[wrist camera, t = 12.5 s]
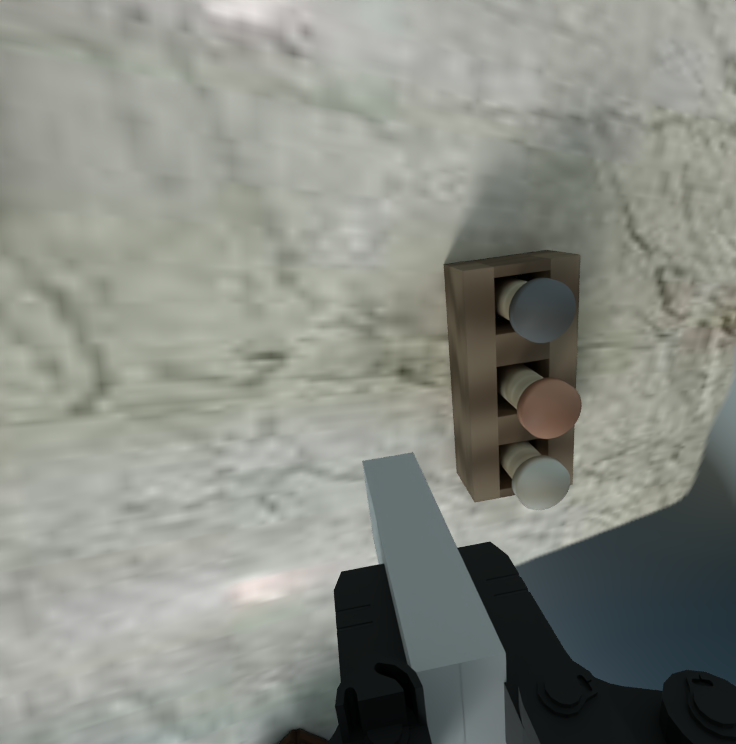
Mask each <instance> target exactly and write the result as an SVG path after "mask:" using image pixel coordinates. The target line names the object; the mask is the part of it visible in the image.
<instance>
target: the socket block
mask: <svg viewBox="0 0 736 744" xmlns="http://www.w3.org/2000/svg"><path fill="white" fill-rule="evenodd" d="M518 274H521V280H524V281H527V282H528V281H530V280H533V279H536V278H549V279H553V280H557V281H560V282H562V283H564V284H565V285H567V286H568V287H569V288H570V290H571V291H572V293H573V295H574V298H575V303H576V310H575V316H574V318H573V321H572V323H571V325H570V326H569V328H568V329H567V330H566V331H565V332H564V333H563V334H562V335H561V336H560V337H558V338H557V339H555V340H553V341H550V342H546V343H536V342H532V341H529V340H527V339H526V338H524V337H522V336H520V335H519V334H517V333H516V332H515V330H514V329H513V327H512V326H511V323H510V321H509V320H507V319H505V318H503V317H499V318H495V294H494V278H497V277H504V276H511V275H518ZM444 275H445V291H446V307H447V323H448V339H449V355H450V371H451V387H452V403H453V419H454V435H455V451H456V467H457V474H458V475H459V477H460V479H461V480H462V482H463V484H464V485H465V487H466V489H467V490H468V492H469V494H470V495H471V497H472V499H473V500H474V502H480V501H485V500H490V499H496V498H501V497H507V496H512V495H515V494H514V492H513V489H512V478H511V477H510V476H509V474H508V473H507V472H506V471H505V469H504V468H503V467H502V466H501V464H500V463H499V445H503V444H509V443H515V442H521V441H526V440H527V441H528V442H529V443H530V444H531V445H532V446H533V447H534V448H535V449H536V450H537V451H538V452H539V453H540V454H541V455H547V456H551V457H553V458H555V459H557V460H558V461H559V462H560V463H561V464H562V465H563V466H564V467H565V468H566V469H567V471H568V472H569V475H570V485H572V482H573V453H574V425H573V427H572V428H571V429H570V430H568V431H567V432H566V433H564V434H563V435H561V436H558V437H556V438H551V439H543V438H538V437H536V436H534V435H532V434H531V433H530V432H529V431H528V430H527V429H525V428H524V427H523V426H522V424H521V423H520V421H519V419H518V416H517V409H516V408H515V407H514V406H512V405H511V404H510V403H509V402H508V401H507V400H506V399H505V398H504V397H503V396H501V395H500V394H499V393H498V392H497V368H496V367H499V366H506V365H512V364H518V363H523V364H524V365H525V366H527V367H528V368H530V369H531V370H533V371H534V372H536V373H537V374H539V375H540V376H542V377H543V378H548V377H553V378H558V379H561V380H563V381H564V382H566V383H568V384H569V385H571V386H572V387H574V388H575V389H576V366H577V336H578V307H579V278H580V255H578V254H571V253H564V252H557V251H549V250H545V251H537V252H530V253H523V254H516V255H509V256H501V257H494V258H487V259H480V260H472V261H465V262H458V263H451V264H444Z"/></svg>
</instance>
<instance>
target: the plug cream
mask: <svg viewBox="0 0 736 744" xmlns="http://www.w3.org/2000/svg"><path fill="white" fill-rule="evenodd" d="M499 463H500V464H501V466H502V467H503V468H504V469H505V471H506V472H507V473H508V474H509V476H510V477H511V478H512V489H513V492H514V494H515V495H516V497H517V498H518V499H519V501H520V502H521V503H522V504H523V505H524V506H525V507H527V508H529V509H533V510H544V509H548V508H551V507H553V506H554V505H556V504H557V503H559V502H560V501H561V500H562V499H563V498H564V497H565V495H566V494H567V492H568V490H569V487H570V475H569V472H568V471H567V469H566V468H565V467H564V466H563V465H562V464H561V463H560V462H559V461H558V460H557V459H555V458H553V457H551V456H547V455H541V454H540V453H539V452H538V451H537V450H536V449H535V448H534V447H533V446H532V445H531V444H530V443H529V442H528V441H527V440H526V441H521V442H515V443H509V444H503V445H499Z"/></svg>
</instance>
